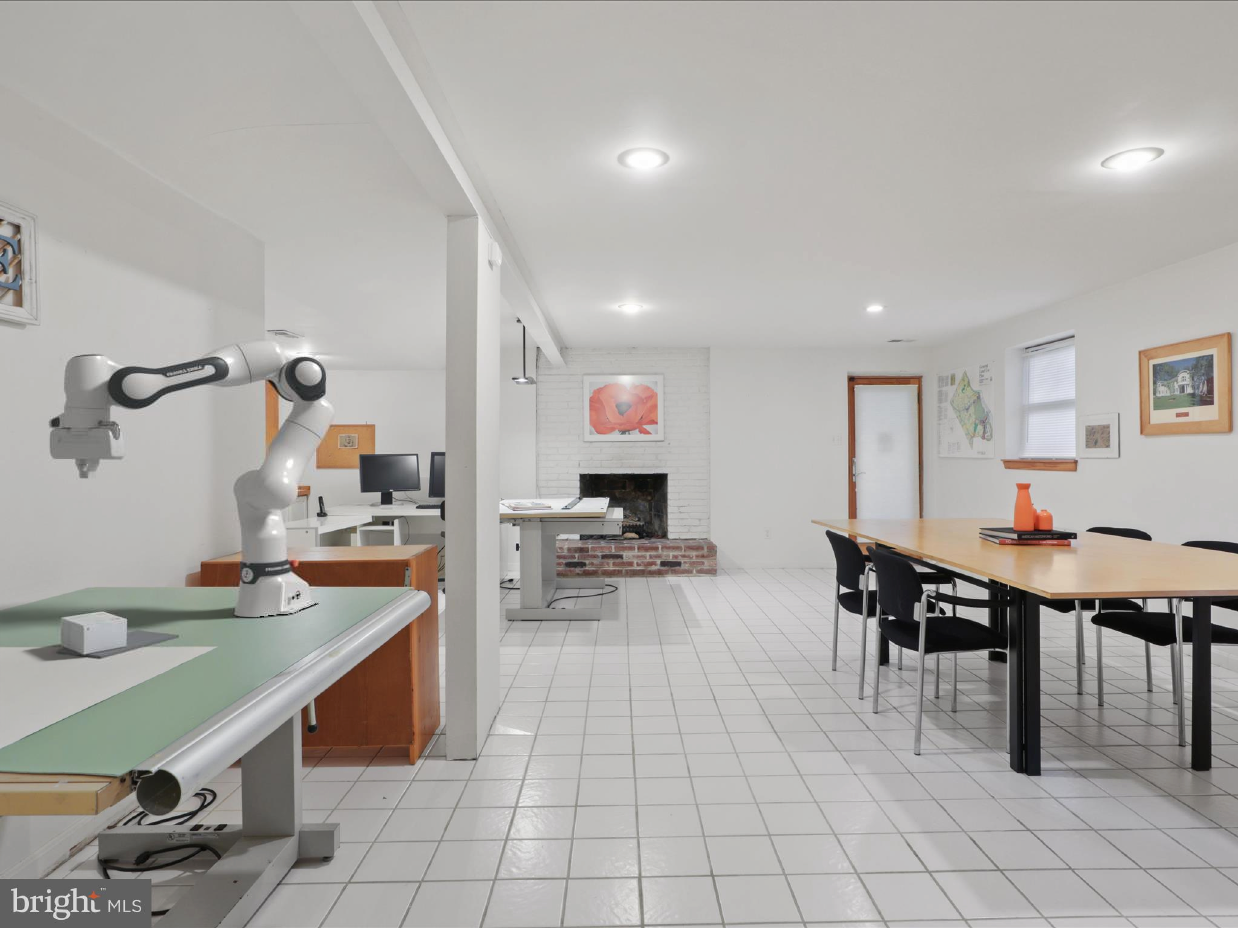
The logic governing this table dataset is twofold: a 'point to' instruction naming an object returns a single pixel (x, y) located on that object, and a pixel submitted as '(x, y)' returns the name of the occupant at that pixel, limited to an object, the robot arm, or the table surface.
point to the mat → (128, 643)
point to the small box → (93, 632)
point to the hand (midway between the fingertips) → (87, 478)
